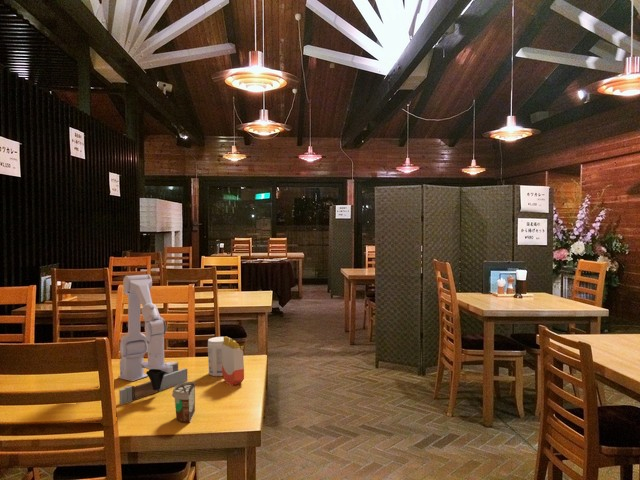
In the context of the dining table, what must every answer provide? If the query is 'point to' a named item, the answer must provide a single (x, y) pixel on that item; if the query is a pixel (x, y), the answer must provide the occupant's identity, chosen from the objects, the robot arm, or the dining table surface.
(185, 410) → the food container
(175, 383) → the wall
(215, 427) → the dining table surface
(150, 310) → the robot arm
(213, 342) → the supplement tub
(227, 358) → the french fries container
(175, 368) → the block
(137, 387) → the door
